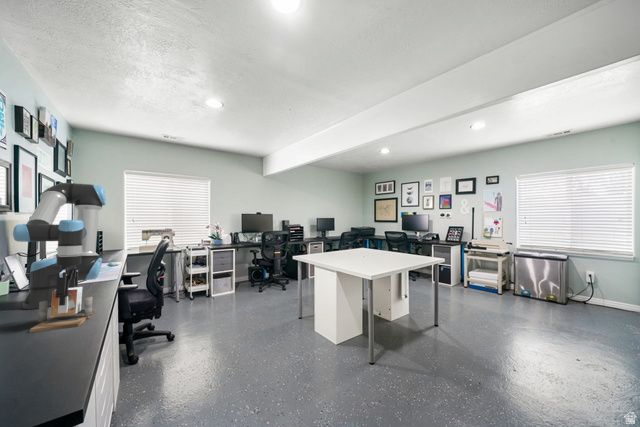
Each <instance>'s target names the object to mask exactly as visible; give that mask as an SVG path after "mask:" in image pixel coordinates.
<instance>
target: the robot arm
mask: <svg viewBox="0 0 640 427" xmlns="http://www.w3.org/2000/svg"><path fill="white" fill-rule="evenodd" d="M39 200H40V201H39V203H38V205H37V207H36V208H35V209H34V211H33V213H32V214H31V216H30V218H29V219H28V221H27V222H26V223H20V224H16V225H15V226H14V227H13V231H12V237H13V239H14V241H16V242H21V243H22V242H24V243H25V242H27V243H32V242H35V243H38V242H39V243H40V242H57V248H56V249H55V251H57V252H56V253H57V254H56V255H57V257H53V258H45V259H41V260H36V261H33V262H32V263H31V265H30V270H29V287H28V289H29V290H28V293H27V295H26V297H25V299H24V301H23V302H22V309H23V310H37V309H38V310H39V302H41V301H48V308H49V307H50V306H51V302H52V292H53V291H54V290H56V296H55V298H59V301H58V314H59V313H67V311H68V296H67V294H68V288H74V287H79V282H82V281H91V280H96V279H97V278H98V277H99V275H100V272H101V268H102V264H103V262H102V261H103V258H102V257H99V256H100V254H98V253H97V252H96V250H97V237H98V224H99V211H100V210H102V209H103V206H106V205H107V202H106V194H105V188H104V186H102V185H99V184H97V185H96V184H93V183H91V184H90V183H89V184H87V183H73V182H61V183H58V184H54V185H52V186H49V187H48V188H46V189H45V190H44V191H42V193H41V194H40V196H39ZM67 204H68V205H69V204H70V205H74V208H75V209H76V210H77V219H61V220H60V221H59V223H58V224H53V223H54V222H55V220H56V217H57V215H58V213H59V212H60V209H61V208H62V207H63V206H64V205H67ZM50 308H51V307H50Z"/></svg>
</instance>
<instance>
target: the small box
mask: <svg viewBox="0 0 640 427" xmlns="http://www.w3.org/2000/svg"><path fill="white" fill-rule="evenodd" d="M55 296H56V290H54V291H53V292H52V302H51V307H50V314H49V317H52V316H61V315H74V314H76V313H78V312H79V311H81V309H82V298H83V286H78V287H74V288H68V294H67V296H68V311H67V313H59V314H58V301H59V298H55Z"/></svg>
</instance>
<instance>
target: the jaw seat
mask: <svg viewBox="0 0 640 427" xmlns="http://www.w3.org/2000/svg"><path fill="white" fill-rule="evenodd" d="M93 299H94V298H93V296H86V297H85V298H84V308H81V311H79V312H78V313H76V314H74V315H61V316H52V317H50V316H49V317H48V309H49V307H48V301H41V302H39V308H38V320H37V322H38V324H37V325H34V326H33V327H30V329H29V333H37V332H44V331H52V330H62V329H66V328H67V329H69V328H77V327H79V326H81V325H82V324H83V323H84V322H86V321H87V320H88V319H89V318H90V317H92V316H93V315H94V314H95V313H96V309H93Z"/></svg>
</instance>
